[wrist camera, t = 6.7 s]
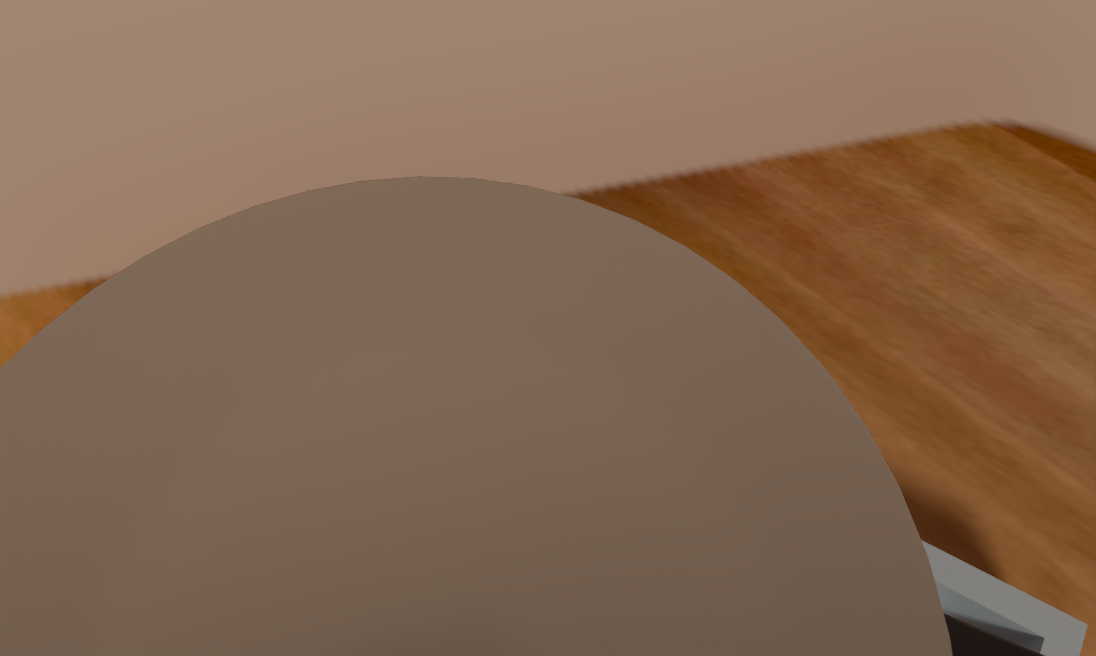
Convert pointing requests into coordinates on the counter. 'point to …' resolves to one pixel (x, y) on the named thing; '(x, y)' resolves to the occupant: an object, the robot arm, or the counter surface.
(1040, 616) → the parts tray
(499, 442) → the beige banded cylinder
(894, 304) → the counter surface
